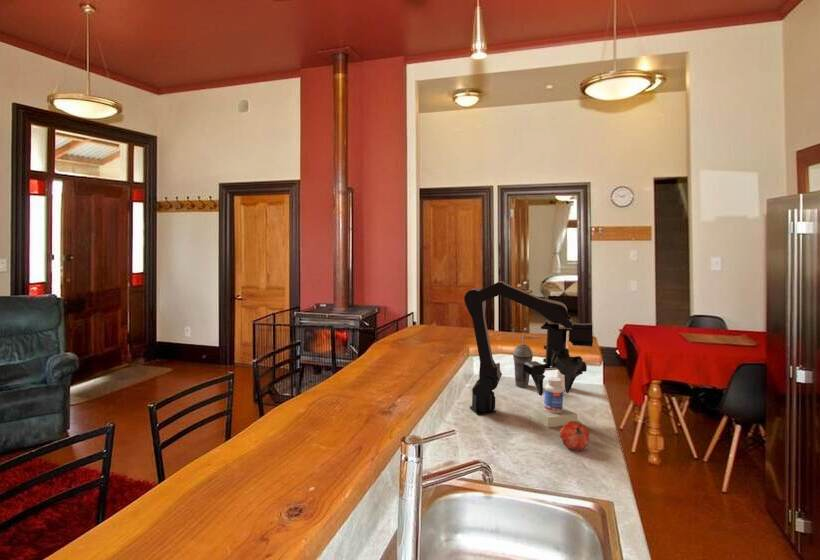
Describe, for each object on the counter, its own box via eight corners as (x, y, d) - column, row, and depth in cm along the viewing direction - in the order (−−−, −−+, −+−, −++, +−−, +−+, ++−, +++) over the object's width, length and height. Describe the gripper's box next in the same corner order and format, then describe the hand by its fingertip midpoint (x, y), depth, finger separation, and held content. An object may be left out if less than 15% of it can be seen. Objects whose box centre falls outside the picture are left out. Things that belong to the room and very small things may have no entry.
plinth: (547, 427, 145) (547, 417, 145) (530, 414, 154) (530, 405, 154) (576, 423, 148) (577, 414, 147) (558, 412, 157) (558, 402, 157)
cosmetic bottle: (549, 385, 184) (552, 328, 181) (564, 384, 185) (566, 327, 183) (558, 391, 178) (561, 331, 176) (573, 390, 179) (576, 330, 177)
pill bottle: (552, 414, 147) (554, 382, 146) (540, 408, 152) (541, 377, 151) (566, 411, 150) (567, 380, 148) (553, 405, 154) (555, 375, 153)
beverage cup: (512, 388, 181) (514, 334, 178) (511, 382, 188) (513, 330, 186) (532, 389, 179) (534, 335, 177) (531, 383, 186) (533, 331, 184)
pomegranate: (556, 451, 134) (561, 442, 126) (558, 424, 138) (564, 414, 130) (584, 456, 133) (592, 448, 124) (585, 430, 136) (593, 419, 128)
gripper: (543, 352, 138) (541, 405, 140) (599, 348, 144) (597, 400, 145) (523, 343, 149) (521, 393, 151) (576, 340, 154) (574, 388, 156)
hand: (553, 394), depth 150 cm, fingers open, 9 cm apart
